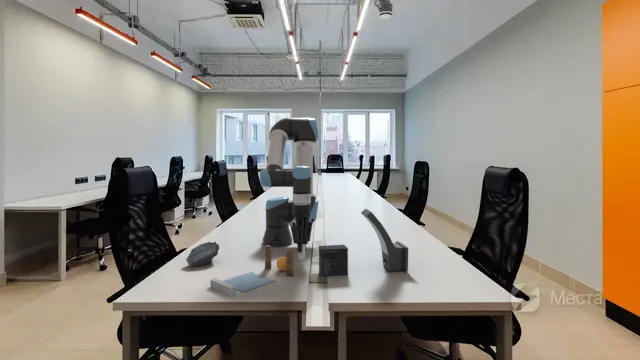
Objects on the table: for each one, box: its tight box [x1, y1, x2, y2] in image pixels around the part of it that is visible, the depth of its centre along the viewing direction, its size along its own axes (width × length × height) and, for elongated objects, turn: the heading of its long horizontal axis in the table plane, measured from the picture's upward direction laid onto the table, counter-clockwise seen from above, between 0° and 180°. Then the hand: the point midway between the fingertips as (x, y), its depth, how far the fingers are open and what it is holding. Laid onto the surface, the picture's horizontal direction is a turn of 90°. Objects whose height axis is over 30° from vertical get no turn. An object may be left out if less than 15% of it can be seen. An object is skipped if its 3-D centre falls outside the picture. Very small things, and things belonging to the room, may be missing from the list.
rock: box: [185, 241, 220, 266], centre depth 153 cm, size 16×8×10 cm
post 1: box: [264, 245, 272, 270], centre depth 146 cm, size 3×3×9 cm
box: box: [318, 244, 349, 277], centre depth 140 cm, size 11×7×10 cm, turn 100°
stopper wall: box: [209, 277, 237, 297], centre depth 123 cm, size 12×2×2 cm, turn 49°
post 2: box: [285, 250, 294, 277], centre depth 138 cm, size 3×3×9 cm
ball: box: [275, 256, 286, 272], centre depth 143 cm, size 6×6×6 cm
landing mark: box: [222, 271, 276, 293], centre depth 131 cm, size 14×14×1 cm
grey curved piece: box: [360, 208, 409, 273], centre depth 145 cm, size 11×17×24 cm, turn 100°
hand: (301, 259), depth 152 cm, fingers closed
